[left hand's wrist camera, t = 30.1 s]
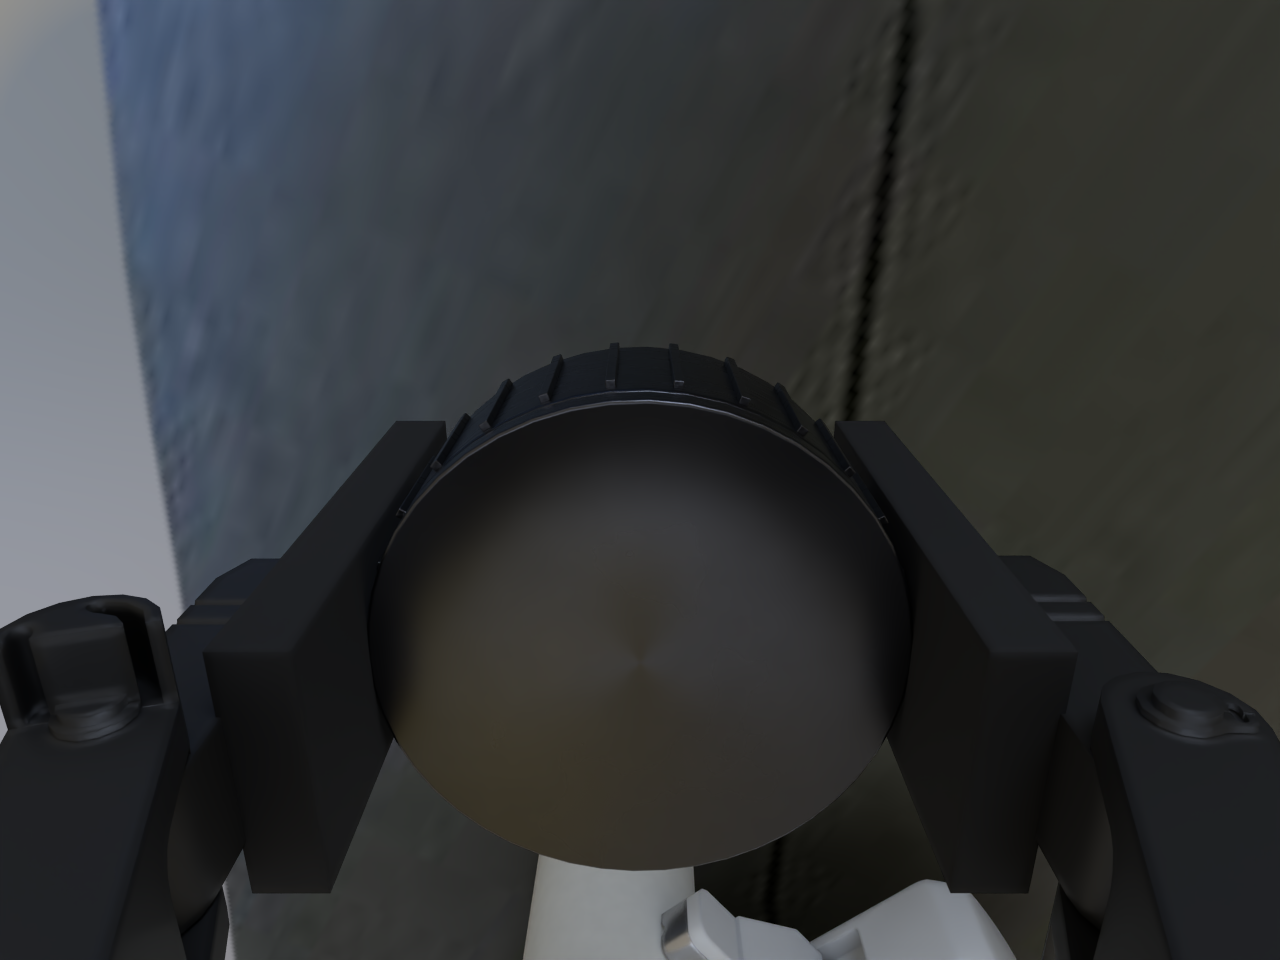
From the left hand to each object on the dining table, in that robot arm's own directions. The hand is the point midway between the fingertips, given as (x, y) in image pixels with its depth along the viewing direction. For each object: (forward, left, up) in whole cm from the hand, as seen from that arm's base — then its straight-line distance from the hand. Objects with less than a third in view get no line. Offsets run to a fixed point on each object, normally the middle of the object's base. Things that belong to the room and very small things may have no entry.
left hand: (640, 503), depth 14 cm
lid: (0, 0, +4) cm, 4 cm away
